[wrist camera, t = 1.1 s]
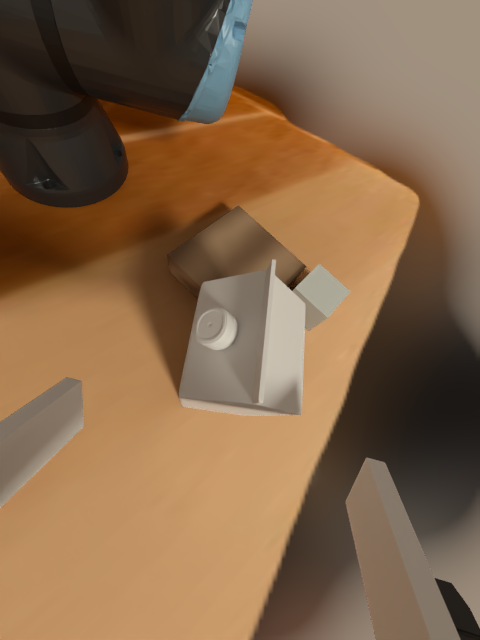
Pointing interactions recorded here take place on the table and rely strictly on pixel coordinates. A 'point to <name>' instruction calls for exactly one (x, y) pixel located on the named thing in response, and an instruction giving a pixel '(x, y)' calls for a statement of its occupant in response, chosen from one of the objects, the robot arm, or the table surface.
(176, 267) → the walnut block
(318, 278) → the grey cube
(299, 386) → the milk carton
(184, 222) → the table surface
